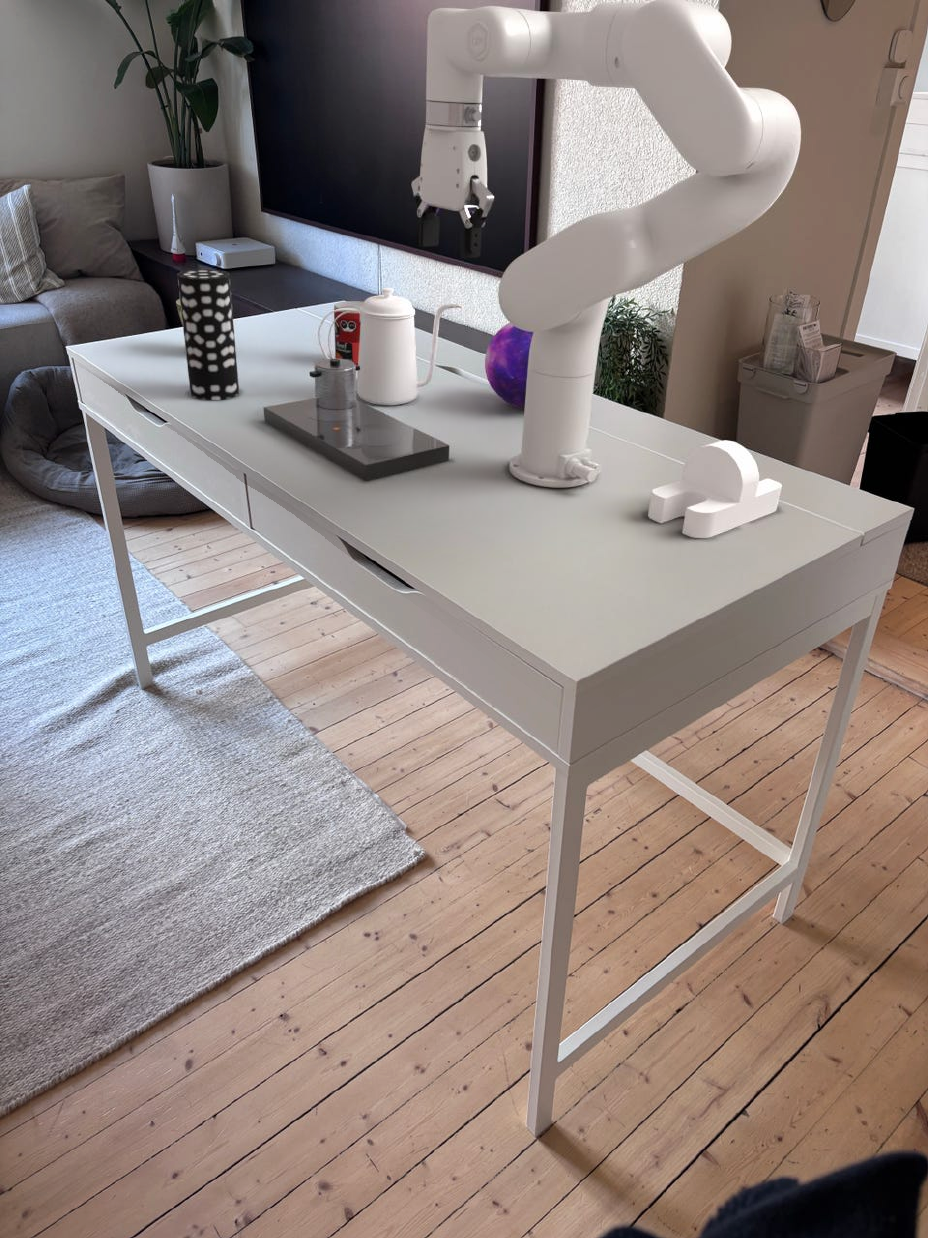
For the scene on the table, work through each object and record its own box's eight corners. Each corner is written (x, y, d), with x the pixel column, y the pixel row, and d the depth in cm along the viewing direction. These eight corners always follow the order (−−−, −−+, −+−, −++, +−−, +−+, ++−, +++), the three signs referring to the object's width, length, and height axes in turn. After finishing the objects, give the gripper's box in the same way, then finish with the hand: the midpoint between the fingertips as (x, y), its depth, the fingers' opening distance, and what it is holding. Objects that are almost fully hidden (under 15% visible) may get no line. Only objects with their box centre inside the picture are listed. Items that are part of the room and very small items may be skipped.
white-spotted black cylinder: (191, 401, 160) (177, 279, 150) (189, 386, 167) (176, 269, 157) (240, 399, 162) (230, 278, 152) (237, 384, 169) (227, 268, 159)
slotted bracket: (700, 541, 120) (714, 469, 115) (643, 515, 127) (654, 446, 122) (780, 509, 131) (796, 442, 126) (724, 486, 137) (737, 422, 132)
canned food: (330, 358, 186) (328, 301, 181) (368, 355, 189) (367, 299, 184) (342, 369, 180) (341, 310, 175) (381, 365, 183) (381, 308, 178)
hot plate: (449, 460, 141) (449, 444, 140) (366, 481, 133) (365, 464, 132) (342, 406, 161) (342, 392, 160) (264, 421, 153) (263, 406, 151)
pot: (369, 404, 155) (369, 360, 151) (323, 413, 150) (321, 368, 146) (348, 394, 159) (347, 351, 155) (302, 402, 154) (300, 358, 150)
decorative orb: (494, 388, 174) (499, 305, 166) (574, 398, 171) (582, 314, 163) (473, 412, 161) (477, 323, 154) (558, 423, 158) (566, 333, 150)
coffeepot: (456, 412, 161) (461, 299, 151) (314, 401, 163) (309, 289, 153) (462, 393, 170) (467, 286, 161) (327, 383, 172) (324, 276, 162)
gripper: (516, 122, 122) (507, 259, 131) (436, 113, 134) (433, 240, 143) (472, 121, 118) (466, 264, 127) (393, 112, 130) (393, 244, 138)
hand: (449, 251), depth 135 cm, fingers open, 9 cm apart
